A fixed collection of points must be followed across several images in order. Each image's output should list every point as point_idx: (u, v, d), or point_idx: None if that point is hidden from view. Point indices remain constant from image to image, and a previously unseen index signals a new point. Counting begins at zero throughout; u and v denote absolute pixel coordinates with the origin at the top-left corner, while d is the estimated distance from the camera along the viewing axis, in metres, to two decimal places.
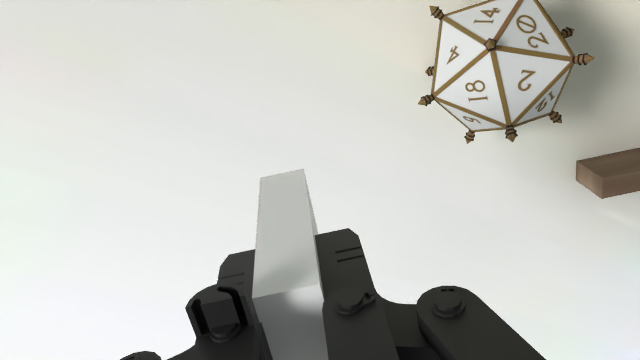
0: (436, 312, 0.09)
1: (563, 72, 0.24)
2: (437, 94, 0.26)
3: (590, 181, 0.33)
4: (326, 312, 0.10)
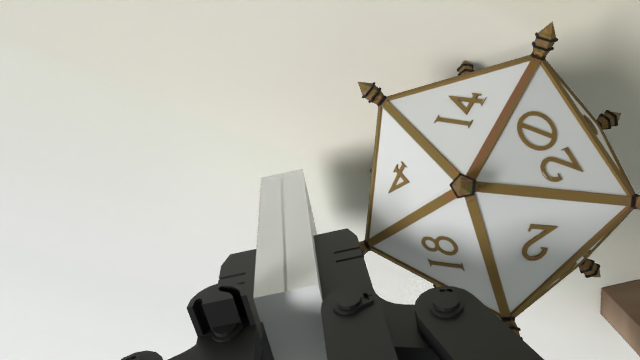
0: (434, 312, 0.09)
1: (612, 225, 0.12)
2: (374, 243, 0.14)
3: (624, 327, 0.21)
4: (325, 312, 0.10)
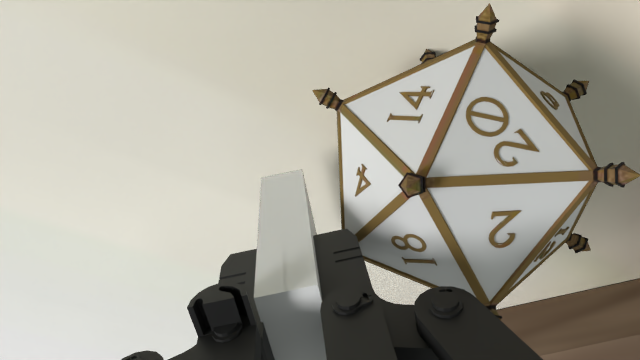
0: (434, 312, 0.09)
1: (578, 201, 0.12)
2: None
3: None
4: (324, 312, 0.10)
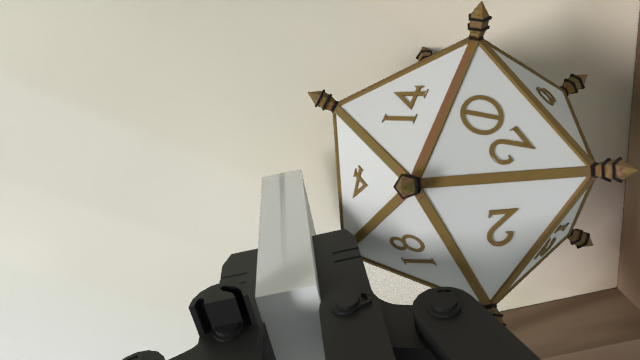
0: (432, 313, 0.09)
1: (576, 198, 0.12)
2: None
3: None
4: (323, 313, 0.10)
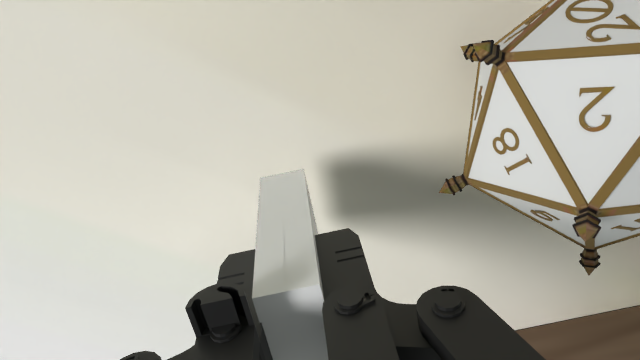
0: (436, 312, 0.09)
1: None
2: (467, 172, 0.15)
3: None
4: (326, 312, 0.10)
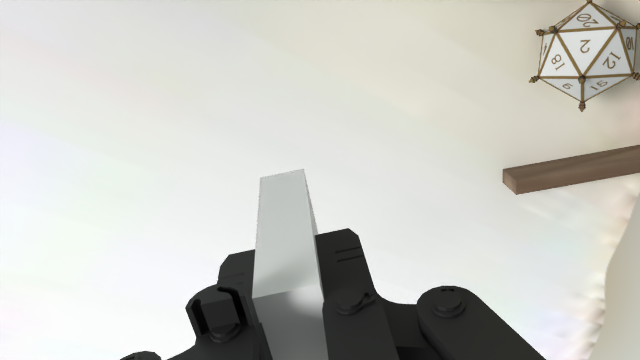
0: (436, 312, 0.09)
1: (611, 36, 0.38)
2: (540, 74, 0.42)
3: (510, 183, 0.48)
4: (326, 312, 0.10)
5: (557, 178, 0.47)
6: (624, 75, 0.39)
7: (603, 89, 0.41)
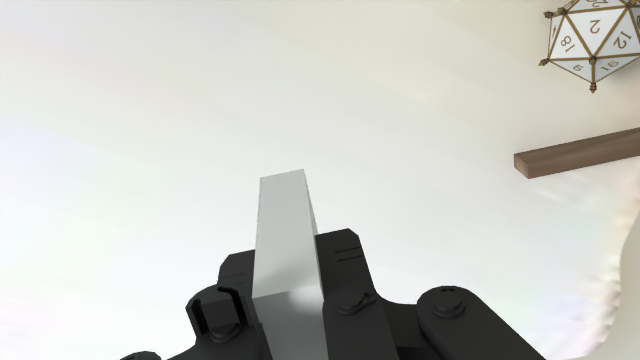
0: (436, 312, 0.09)
1: (622, 15, 0.37)
2: (549, 56, 0.42)
3: (522, 167, 0.48)
4: (326, 312, 0.10)
5: (569, 161, 0.47)
6: (635, 54, 0.39)
7: (614, 69, 0.40)
